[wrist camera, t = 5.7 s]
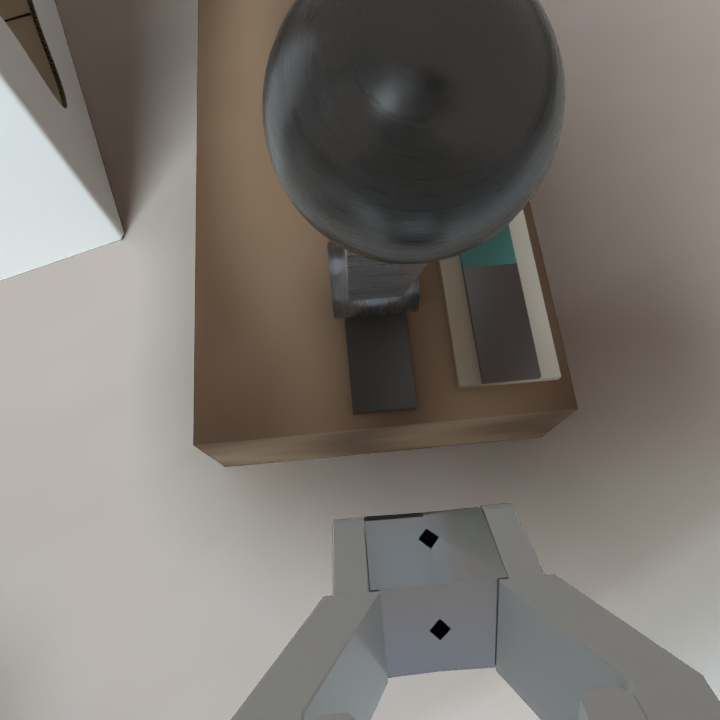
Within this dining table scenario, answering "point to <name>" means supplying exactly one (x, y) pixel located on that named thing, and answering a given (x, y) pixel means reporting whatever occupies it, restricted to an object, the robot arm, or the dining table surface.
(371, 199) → the lever
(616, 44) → the dining table surface
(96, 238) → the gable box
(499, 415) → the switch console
